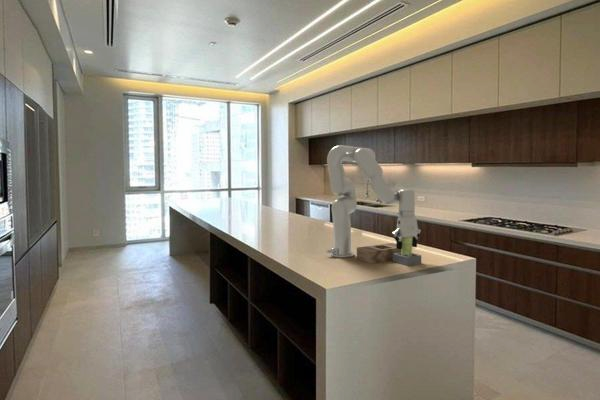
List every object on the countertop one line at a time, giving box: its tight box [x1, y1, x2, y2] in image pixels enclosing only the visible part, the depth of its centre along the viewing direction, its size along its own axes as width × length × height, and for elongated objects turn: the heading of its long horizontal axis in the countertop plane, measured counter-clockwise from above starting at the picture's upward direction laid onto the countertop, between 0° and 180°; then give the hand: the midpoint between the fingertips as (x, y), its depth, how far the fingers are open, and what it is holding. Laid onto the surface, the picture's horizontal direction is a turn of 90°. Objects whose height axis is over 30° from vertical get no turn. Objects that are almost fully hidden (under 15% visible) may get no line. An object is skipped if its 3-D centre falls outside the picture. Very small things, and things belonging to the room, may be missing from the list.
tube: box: [401, 237, 413, 257], centre depth 188 cm, size 6×5×20 cm
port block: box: [356, 242, 401, 264], centre depth 198 cm, size 24×12×6 cm, turn 116°
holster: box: [392, 252, 422, 267], centre depth 188 cm, size 9×10×4 cm
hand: (406, 247), depth 188 cm, fingers open, 9 cm apart
